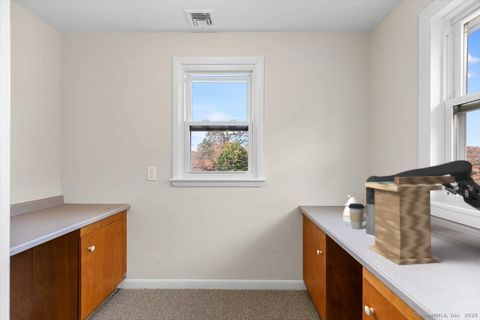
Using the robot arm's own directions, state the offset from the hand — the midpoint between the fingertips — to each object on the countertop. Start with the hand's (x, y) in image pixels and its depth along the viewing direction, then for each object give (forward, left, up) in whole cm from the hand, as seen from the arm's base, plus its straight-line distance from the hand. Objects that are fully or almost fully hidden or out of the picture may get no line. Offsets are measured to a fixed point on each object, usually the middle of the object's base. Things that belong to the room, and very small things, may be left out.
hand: (450, 182), depth 128 cm
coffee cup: (-47, +36, -33) cm, 67 cm away
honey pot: (-54, +58, -33) cm, 86 cm away
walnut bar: (-9, -8, 0) cm, 12 cm away
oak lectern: (-19, -8, -32) cm, 38 cm away
